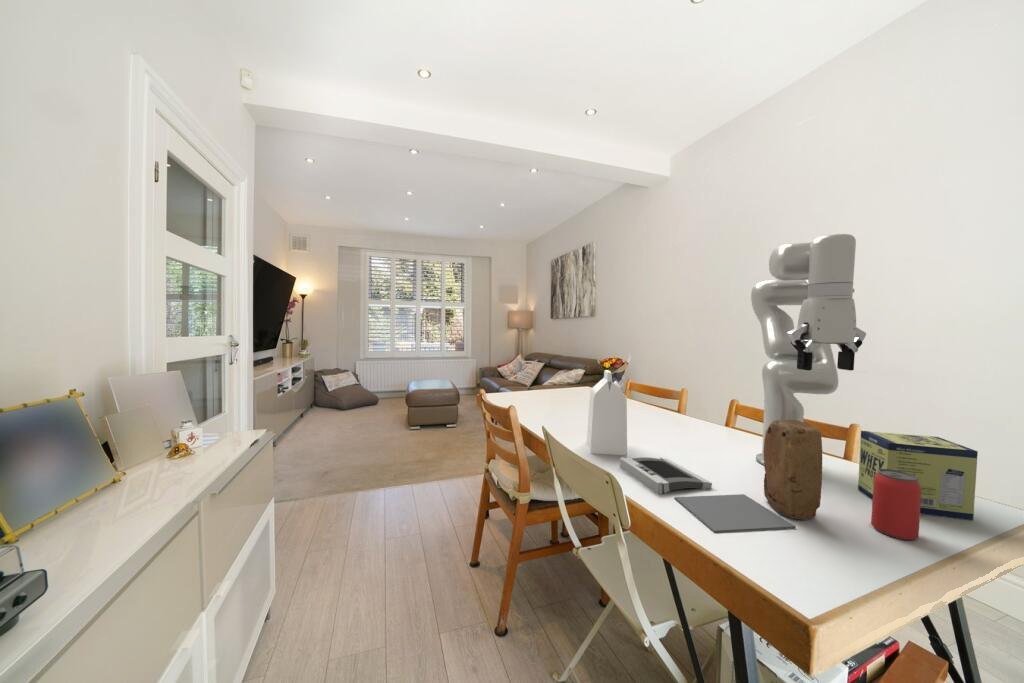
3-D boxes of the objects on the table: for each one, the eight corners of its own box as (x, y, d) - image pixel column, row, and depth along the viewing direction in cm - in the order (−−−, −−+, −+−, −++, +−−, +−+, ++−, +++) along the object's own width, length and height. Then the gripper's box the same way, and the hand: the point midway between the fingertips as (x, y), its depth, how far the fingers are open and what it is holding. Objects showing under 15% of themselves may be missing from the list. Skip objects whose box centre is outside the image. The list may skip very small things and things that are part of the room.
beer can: (861, 522, 76) (864, 467, 75) (893, 523, 75) (897, 467, 75) (893, 541, 69) (897, 480, 68) (929, 542, 69) (933, 481, 68)
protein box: (855, 489, 91) (859, 429, 91) (935, 499, 87) (939, 436, 86) (883, 509, 82) (888, 442, 81) (975, 521, 77) (980, 450, 76)
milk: (586, 441, 127) (588, 368, 126) (619, 443, 126) (621, 369, 125) (590, 453, 115) (592, 373, 114) (627, 455, 114) (629, 374, 113)
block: (823, 524, 75) (828, 430, 74) (785, 521, 76) (789, 428, 75) (790, 499, 85) (794, 416, 85) (756, 497, 86) (760, 415, 86)
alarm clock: (619, 457, 103) (668, 449, 107) (620, 473, 104) (668, 464, 108) (657, 483, 87) (713, 472, 91) (658, 501, 87) (713, 489, 91)
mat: (743, 495, 87) (743, 494, 87) (795, 528, 73) (795, 526, 73) (674, 498, 85) (674, 497, 85) (714, 532, 71) (714, 530, 71)
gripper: (849, 294, 83) (844, 367, 84) (778, 293, 82) (774, 367, 83) (884, 292, 76) (879, 372, 77) (807, 291, 75) (802, 372, 76)
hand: (824, 369), depth 80 cm, fingers open, 9 cm apart
